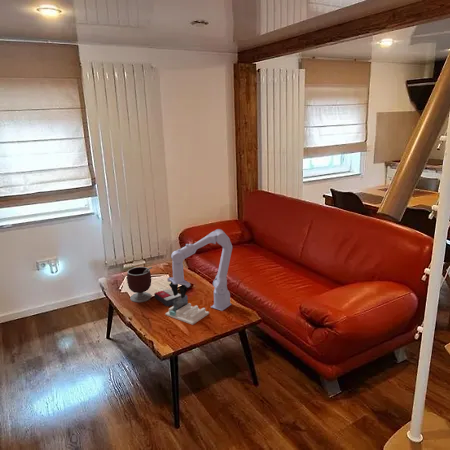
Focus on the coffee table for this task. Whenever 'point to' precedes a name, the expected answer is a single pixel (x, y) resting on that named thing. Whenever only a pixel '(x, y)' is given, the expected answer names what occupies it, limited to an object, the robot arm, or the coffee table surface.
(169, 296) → the calculator
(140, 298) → the mate gourd
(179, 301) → the panel
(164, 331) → the coffee table surface
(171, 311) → the rack
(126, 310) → the coffee table surface
